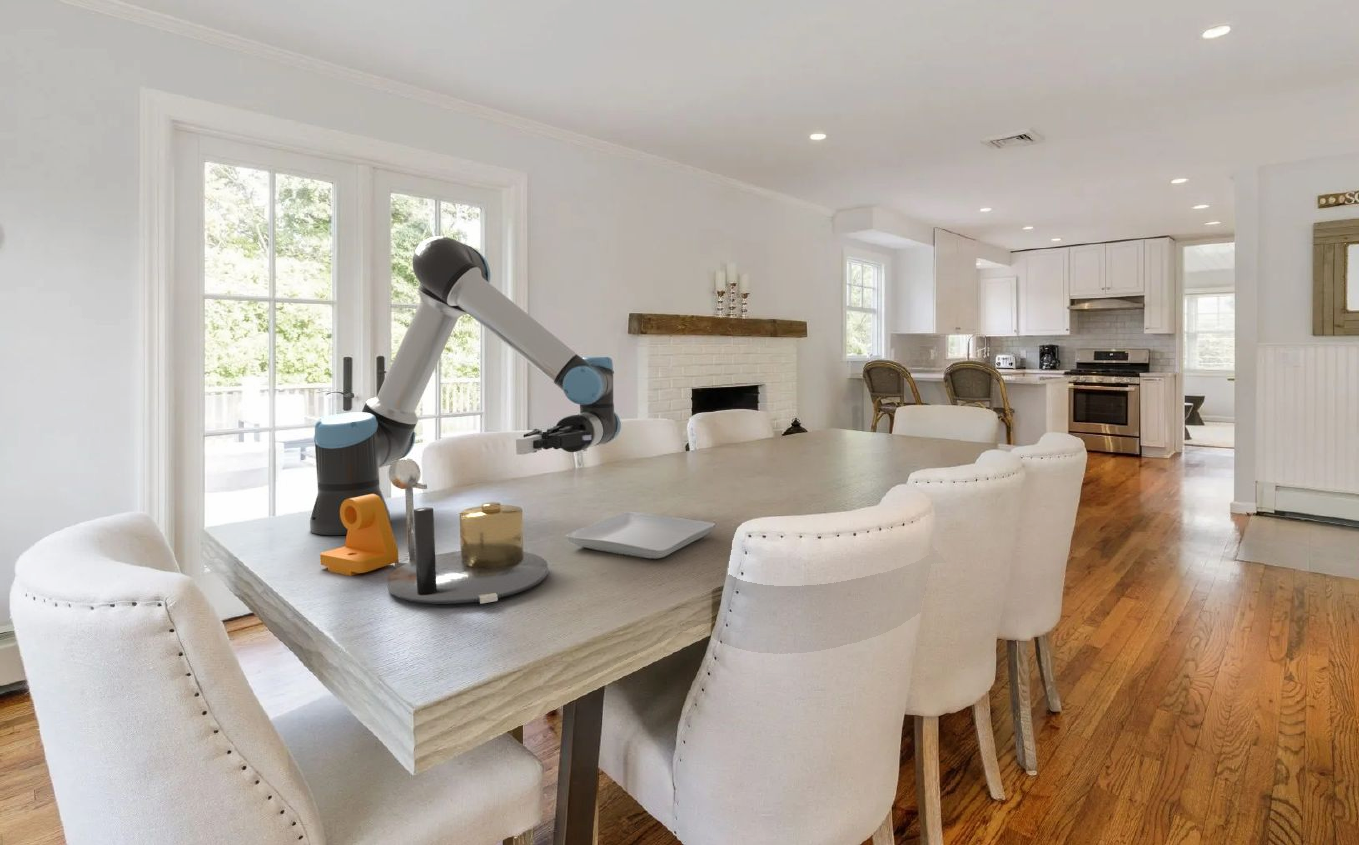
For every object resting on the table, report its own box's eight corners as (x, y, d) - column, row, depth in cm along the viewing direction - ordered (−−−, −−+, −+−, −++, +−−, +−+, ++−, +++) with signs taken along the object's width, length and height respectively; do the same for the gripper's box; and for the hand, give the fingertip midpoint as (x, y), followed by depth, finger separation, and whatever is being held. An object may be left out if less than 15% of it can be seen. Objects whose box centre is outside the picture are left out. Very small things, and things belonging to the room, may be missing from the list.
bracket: (318, 569, 116) (314, 498, 115) (355, 558, 122) (352, 491, 121) (361, 578, 111) (358, 504, 110) (398, 566, 117) (395, 496, 116)
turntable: (354, 600, 99) (349, 510, 97) (434, 552, 122) (431, 480, 121) (516, 606, 95) (513, 514, 94) (566, 556, 119) (564, 482, 118)
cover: (450, 566, 111) (448, 510, 110) (476, 549, 121) (474, 497, 120) (510, 568, 109) (508, 511, 109) (532, 551, 119) (530, 498, 118)
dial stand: (390, 569, 116) (385, 459, 114) (404, 561, 120) (399, 455, 118) (428, 570, 115) (424, 459, 113) (441, 562, 119) (436, 456, 117)
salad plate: (663, 568, 116) (662, 548, 116) (563, 551, 127) (562, 533, 126) (718, 539, 135) (718, 521, 134) (626, 526, 145) (626, 510, 145)
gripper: (607, 451, 143) (553, 469, 121) (550, 449, 147) (488, 466, 124) (606, 414, 142) (552, 426, 120) (549, 414, 146) (486, 425, 124)
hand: (520, 446), depth 122 cm, fingers closed
